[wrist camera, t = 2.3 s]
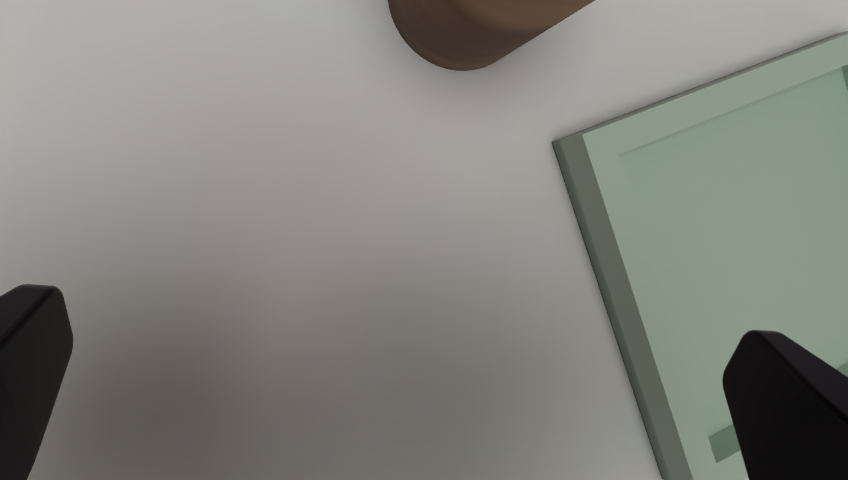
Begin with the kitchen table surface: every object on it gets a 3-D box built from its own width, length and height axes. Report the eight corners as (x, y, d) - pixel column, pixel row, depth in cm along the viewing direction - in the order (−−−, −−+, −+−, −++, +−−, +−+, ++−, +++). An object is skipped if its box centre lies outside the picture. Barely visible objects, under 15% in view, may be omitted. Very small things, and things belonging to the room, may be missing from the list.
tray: (920, 339, 27) (974, 349, 25) (662, 478, 24) (700, 503, 22) (839, 33, 25) (890, 17, 23) (551, 142, 22) (582, 134, 20)
